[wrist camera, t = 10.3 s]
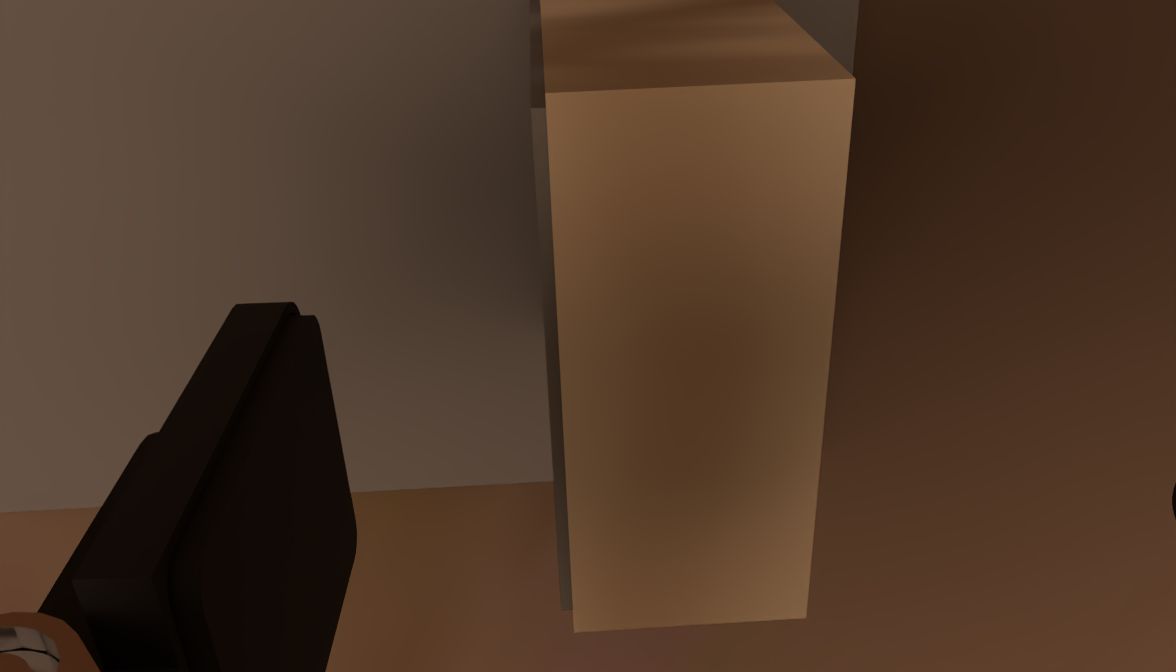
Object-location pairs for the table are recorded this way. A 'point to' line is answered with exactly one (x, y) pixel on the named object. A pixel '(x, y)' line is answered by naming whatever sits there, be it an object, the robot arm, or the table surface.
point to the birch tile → (686, 301)
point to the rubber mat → (277, 225)
